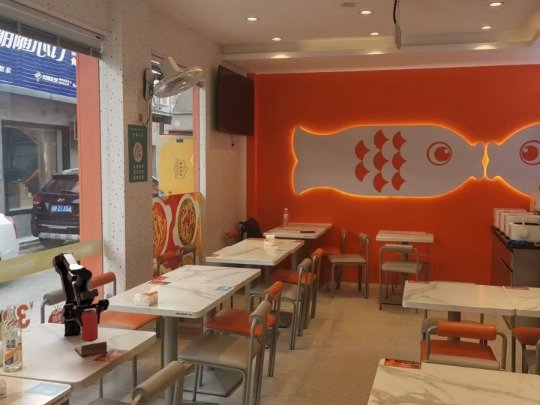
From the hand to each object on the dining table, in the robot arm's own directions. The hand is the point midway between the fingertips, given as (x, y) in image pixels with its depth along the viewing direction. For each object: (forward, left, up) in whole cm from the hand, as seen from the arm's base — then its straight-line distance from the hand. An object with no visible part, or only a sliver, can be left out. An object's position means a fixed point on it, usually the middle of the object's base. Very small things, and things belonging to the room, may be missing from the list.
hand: (90, 325), depth 229 cm
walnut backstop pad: (0, 0, -11) cm, 11 cm away
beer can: (0, +1, -7) cm, 7 cm away
